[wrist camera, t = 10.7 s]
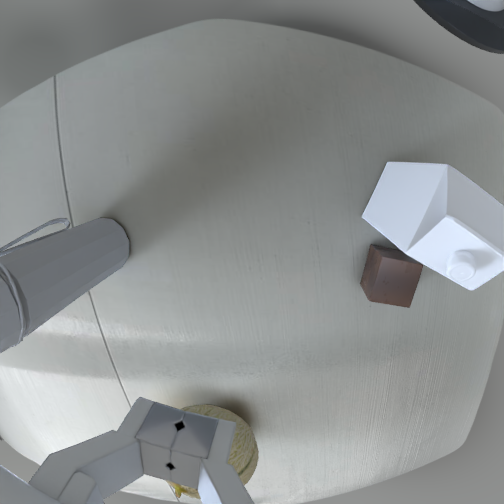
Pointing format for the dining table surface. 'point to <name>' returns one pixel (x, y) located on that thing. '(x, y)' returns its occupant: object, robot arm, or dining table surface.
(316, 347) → the dining table surface
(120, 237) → the water bottle
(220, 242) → the dining table surface
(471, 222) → the milk carton
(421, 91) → the dining table surface
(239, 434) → the cantaloupe
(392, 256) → the walnut block
